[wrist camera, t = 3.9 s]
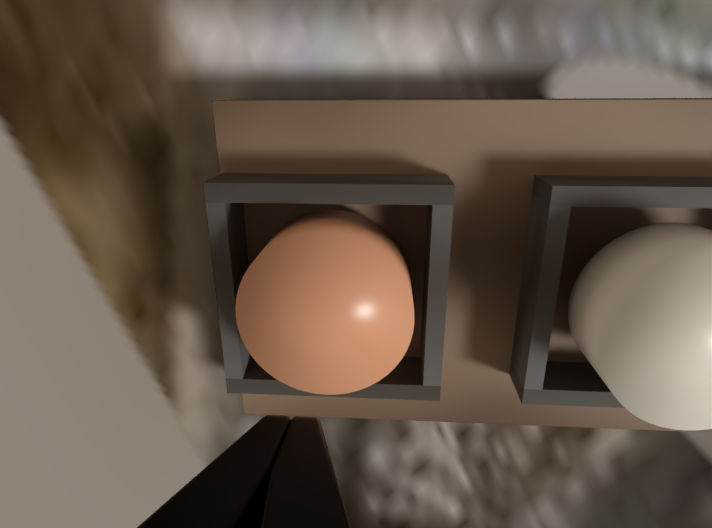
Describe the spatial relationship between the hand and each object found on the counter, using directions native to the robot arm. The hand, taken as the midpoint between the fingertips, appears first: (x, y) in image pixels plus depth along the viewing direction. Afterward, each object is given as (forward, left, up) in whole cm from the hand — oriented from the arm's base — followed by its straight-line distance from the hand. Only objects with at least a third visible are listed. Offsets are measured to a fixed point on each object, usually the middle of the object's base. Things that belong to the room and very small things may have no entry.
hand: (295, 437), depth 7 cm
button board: (0, -8, -9) cm, 12 cm away
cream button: (0, -8, -6) cm, 10 cm away
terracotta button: (0, 0, -6) cm, 7 cm away
